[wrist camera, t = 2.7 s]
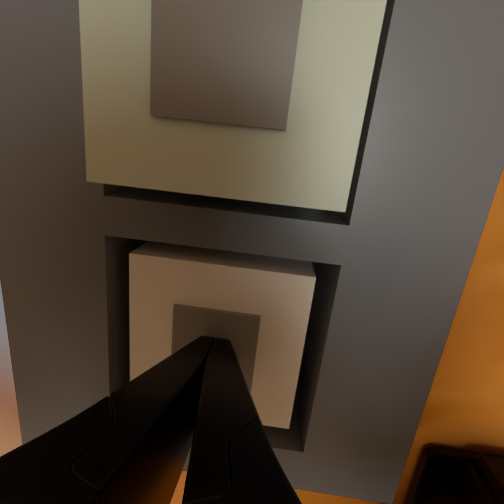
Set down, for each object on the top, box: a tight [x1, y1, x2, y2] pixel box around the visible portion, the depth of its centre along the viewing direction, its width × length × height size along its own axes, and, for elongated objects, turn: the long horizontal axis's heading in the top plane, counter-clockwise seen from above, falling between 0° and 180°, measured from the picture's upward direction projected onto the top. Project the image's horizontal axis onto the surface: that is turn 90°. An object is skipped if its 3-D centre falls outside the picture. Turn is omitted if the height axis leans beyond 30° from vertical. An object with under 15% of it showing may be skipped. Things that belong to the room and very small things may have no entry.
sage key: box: [79, 0, 387, 212], centre depth 7 cm, size 5×5×3 cm
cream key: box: [129, 241, 316, 429], centre depth 10 cm, size 5×5×3 cm
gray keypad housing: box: [0, 0, 504, 504], centre depth 9 cm, size 23×12×5 cm, turn 174°
